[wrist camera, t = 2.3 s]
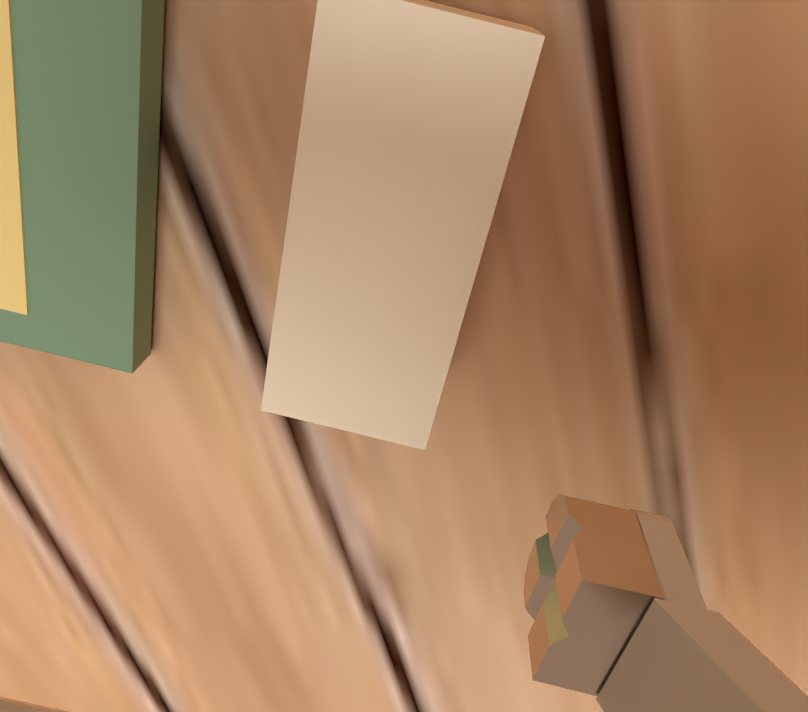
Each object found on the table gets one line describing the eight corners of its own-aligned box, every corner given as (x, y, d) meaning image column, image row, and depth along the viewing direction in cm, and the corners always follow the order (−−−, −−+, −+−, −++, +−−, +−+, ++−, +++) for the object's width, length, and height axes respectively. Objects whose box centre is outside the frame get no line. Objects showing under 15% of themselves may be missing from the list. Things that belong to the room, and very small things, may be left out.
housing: (531, 26, 19) (545, 35, 15) (436, 368, 25) (425, 450, 20) (358, -17, 19) (320, -21, 15) (301, 335, 24) (261, 410, 20)
